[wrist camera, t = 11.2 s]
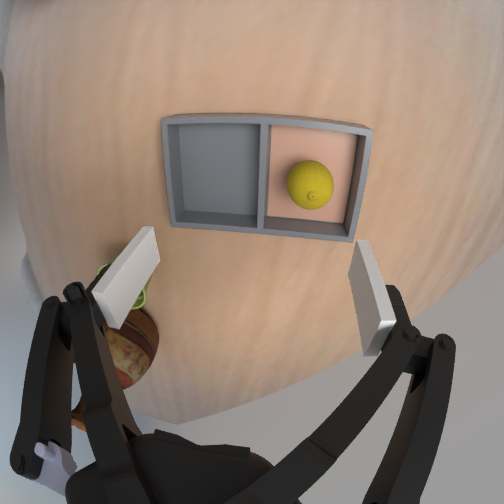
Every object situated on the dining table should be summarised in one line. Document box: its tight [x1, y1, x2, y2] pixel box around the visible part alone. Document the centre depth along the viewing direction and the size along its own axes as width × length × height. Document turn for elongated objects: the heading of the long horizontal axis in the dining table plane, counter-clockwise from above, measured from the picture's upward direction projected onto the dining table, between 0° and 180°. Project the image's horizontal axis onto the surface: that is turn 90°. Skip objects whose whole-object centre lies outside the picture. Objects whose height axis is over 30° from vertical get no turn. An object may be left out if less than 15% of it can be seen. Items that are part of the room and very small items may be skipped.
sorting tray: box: [161, 113, 374, 243], centre depth 34 cm, size 15×25×4 cm, turn 89°
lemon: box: [287, 160, 334, 210], centre depth 31 cm, size 6×6×8 cm
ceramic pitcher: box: [71, 309, 159, 432], centre depth 46 cm, size 20×20×30 cm
